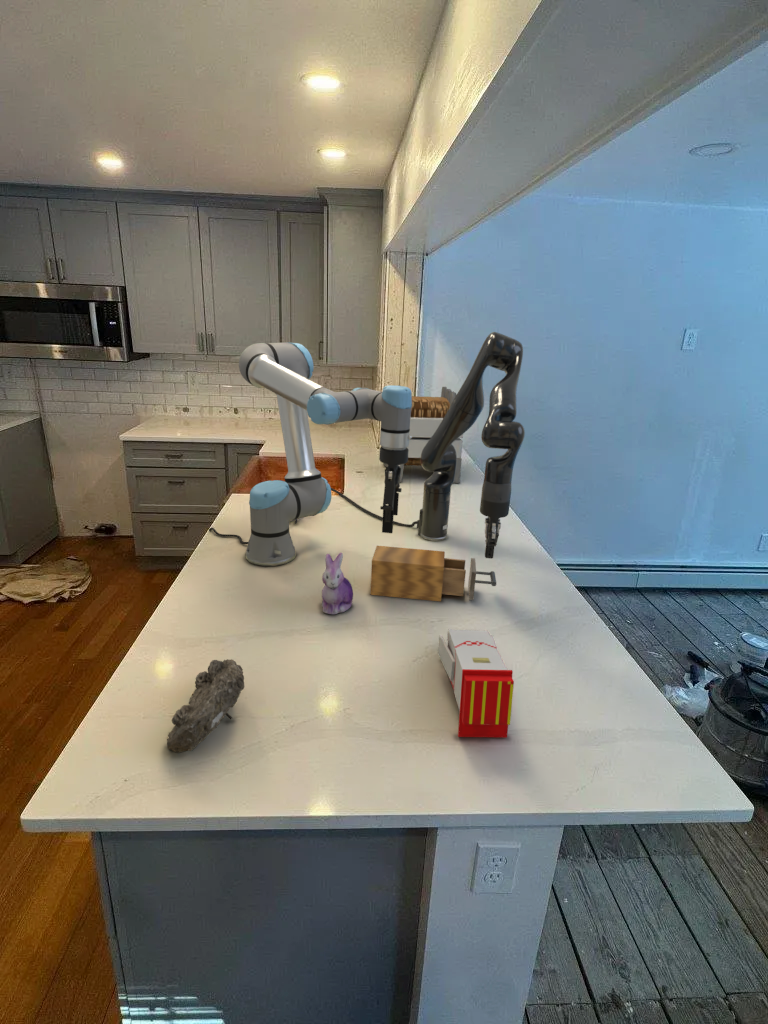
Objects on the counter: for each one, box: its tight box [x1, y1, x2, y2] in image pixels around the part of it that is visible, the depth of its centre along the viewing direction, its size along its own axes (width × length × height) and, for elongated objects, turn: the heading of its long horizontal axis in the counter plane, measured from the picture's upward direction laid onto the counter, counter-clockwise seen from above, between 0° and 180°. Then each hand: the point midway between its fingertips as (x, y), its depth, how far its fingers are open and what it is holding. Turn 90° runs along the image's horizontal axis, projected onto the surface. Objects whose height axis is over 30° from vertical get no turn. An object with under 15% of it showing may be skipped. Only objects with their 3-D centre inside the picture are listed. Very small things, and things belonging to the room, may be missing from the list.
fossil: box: [166, 658, 245, 754], centre depth 106 cm, size 22×10×15 cm
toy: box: [437, 628, 515, 738], centre depth 117 cm, size 12×13×30 cm
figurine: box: [321, 552, 354, 615], centre depth 147 cm, size 9×10×15 cm
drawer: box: [442, 557, 497, 601], centre depth 158 cm, size 24×9×8 cm, turn 83°
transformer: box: [382, 384, 464, 484], centre depth 268 cm, size 34×33×41 cm
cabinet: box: [370, 545, 446, 602], centre depth 159 cm, size 20×10×10 cm, turn 83°
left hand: (390, 523), depth 155 cm, fingers open, 13 cm apart
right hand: (488, 557), depth 154 cm, fingers closed
